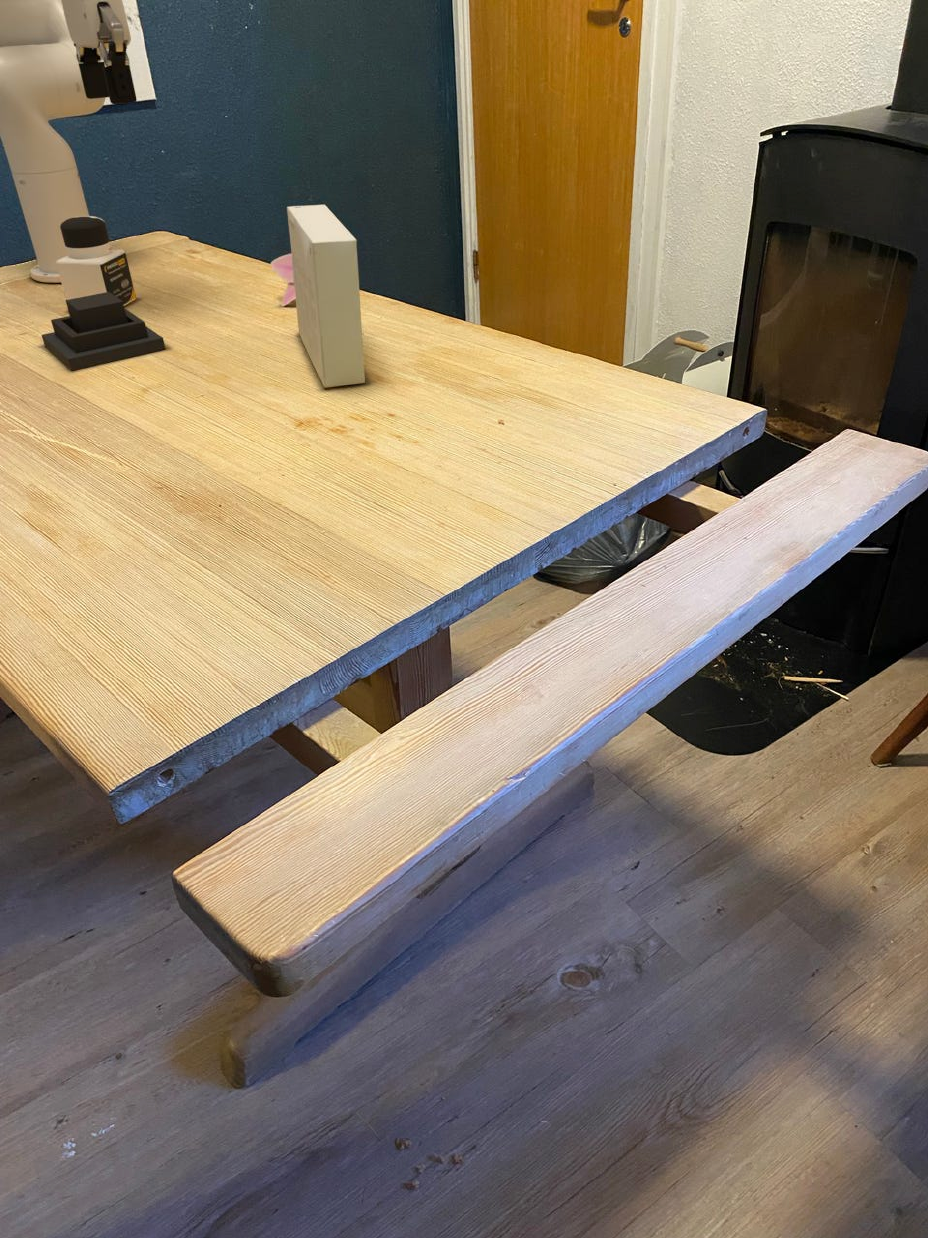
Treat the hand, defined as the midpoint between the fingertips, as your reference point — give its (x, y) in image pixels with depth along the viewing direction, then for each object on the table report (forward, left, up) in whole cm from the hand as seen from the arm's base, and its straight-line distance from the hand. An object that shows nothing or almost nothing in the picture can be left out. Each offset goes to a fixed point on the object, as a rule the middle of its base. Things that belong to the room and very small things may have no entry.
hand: (111, 100), depth 117 cm
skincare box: (+36, +9, -26) cm, 46 cm away
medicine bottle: (-6, -6, -26) cm, 28 cm away
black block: (+13, -12, -25) cm, 30 cm away
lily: (+14, +18, -26) cm, 35 cm away
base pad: (+13, -12, -26) cm, 32 cm away
